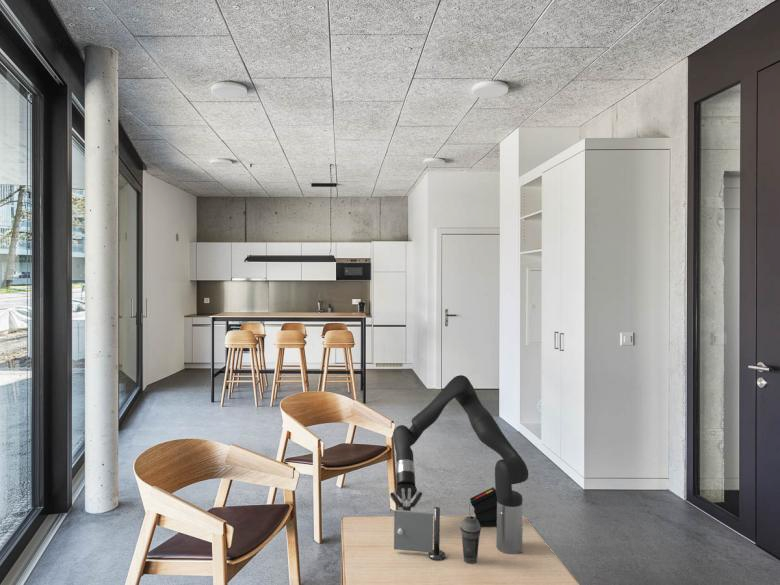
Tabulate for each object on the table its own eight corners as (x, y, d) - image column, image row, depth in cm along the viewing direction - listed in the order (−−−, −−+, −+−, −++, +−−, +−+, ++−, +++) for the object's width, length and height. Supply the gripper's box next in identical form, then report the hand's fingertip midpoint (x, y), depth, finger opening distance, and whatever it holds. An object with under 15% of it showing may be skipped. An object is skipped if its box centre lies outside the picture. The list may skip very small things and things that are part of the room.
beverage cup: (467, 567, 194) (468, 510, 193) (455, 558, 200) (456, 502, 199) (484, 563, 197) (485, 506, 196) (472, 553, 203) (473, 499, 203)
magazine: (511, 522, 226) (496, 489, 225) (482, 537, 225) (466, 504, 224) (509, 518, 229) (493, 486, 229) (480, 533, 229) (464, 500, 228)
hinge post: (445, 553, 204) (446, 505, 203) (444, 561, 198) (444, 512, 197) (429, 551, 205) (429, 504, 204) (427, 559, 199) (427, 510, 198)
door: (432, 551, 202) (433, 512, 202) (432, 554, 200) (432, 515, 199) (394, 547, 204) (394, 509, 204) (393, 550, 202) (393, 512, 202)
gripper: (421, 477, 227) (424, 521, 215) (388, 478, 226) (389, 521, 215) (422, 469, 221) (425, 513, 209) (388, 470, 221) (389, 514, 209)
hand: (407, 517), depth 212 cm, fingers closed
